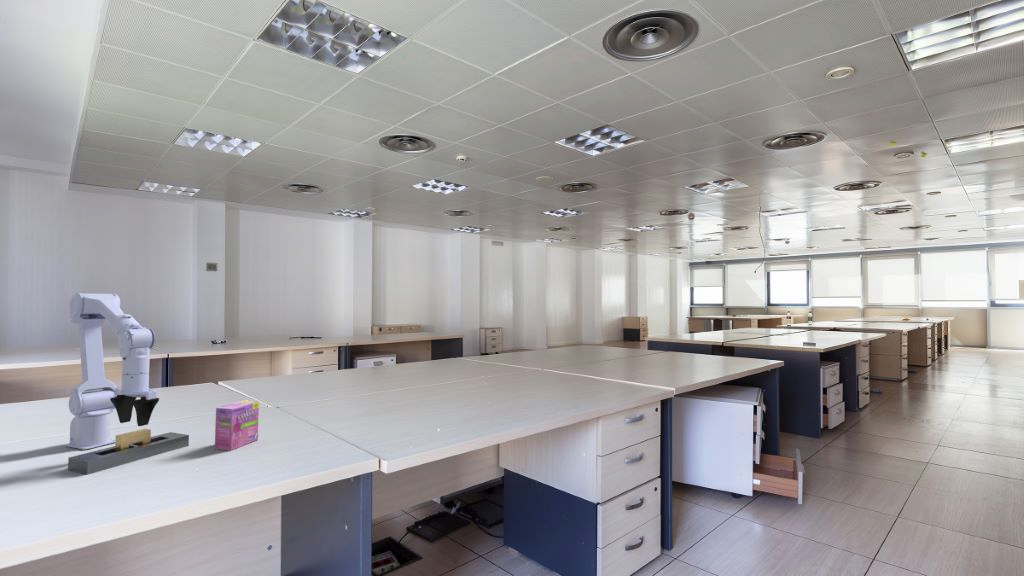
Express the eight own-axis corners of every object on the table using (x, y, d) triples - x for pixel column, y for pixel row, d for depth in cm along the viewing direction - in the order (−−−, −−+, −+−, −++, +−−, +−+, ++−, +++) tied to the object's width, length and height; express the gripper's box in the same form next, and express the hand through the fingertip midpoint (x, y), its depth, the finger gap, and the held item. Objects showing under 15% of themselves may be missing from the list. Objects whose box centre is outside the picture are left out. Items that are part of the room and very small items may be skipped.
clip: (114, 458, 120) (115, 435, 120) (144, 450, 127) (145, 428, 127) (120, 459, 119) (121, 436, 119) (150, 451, 126) (150, 429, 126)
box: (231, 451, 128) (232, 408, 129) (214, 449, 129) (215, 407, 130) (258, 440, 138) (259, 400, 139) (242, 438, 140) (243, 399, 140)
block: (68, 469, 113) (68, 457, 113) (170, 442, 136) (170, 432, 136) (87, 474, 110) (87, 461, 110) (188, 445, 133) (188, 435, 133)
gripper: (101, 373, 122) (99, 424, 122) (136, 377, 117) (134, 430, 117) (131, 369, 129) (129, 418, 129) (165, 373, 124) (163, 423, 123)
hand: (134, 423), depth 123 cm, fingers open, 7 cm apart
